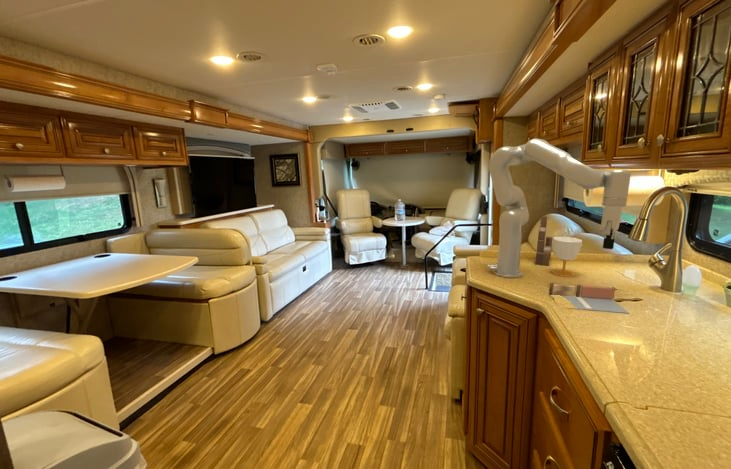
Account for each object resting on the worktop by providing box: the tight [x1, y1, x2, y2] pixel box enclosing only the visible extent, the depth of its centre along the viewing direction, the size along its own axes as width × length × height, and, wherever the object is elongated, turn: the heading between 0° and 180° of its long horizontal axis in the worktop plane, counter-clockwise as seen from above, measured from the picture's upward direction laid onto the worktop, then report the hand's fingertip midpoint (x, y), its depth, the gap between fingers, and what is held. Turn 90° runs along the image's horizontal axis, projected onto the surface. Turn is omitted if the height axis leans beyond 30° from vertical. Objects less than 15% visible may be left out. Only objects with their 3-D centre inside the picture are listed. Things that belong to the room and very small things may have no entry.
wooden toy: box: [534, 215, 554, 267], centre depth 176 cm, size 16×7×25 cm, turn 149°
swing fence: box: [580, 285, 616, 300], centre depth 128 cm, size 11×1×4 cm, turn 76°
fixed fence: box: [548, 282, 582, 297], centre depth 131 cm, size 11×1×5 cm, turn 76°
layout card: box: [562, 294, 630, 314], centre depth 125 cm, size 22×14×1 cm, turn 76°
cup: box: [552, 236, 583, 278], centre depth 157 cm, size 12×12×17 cm
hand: (607, 248), depth 130 cm, fingers closed
